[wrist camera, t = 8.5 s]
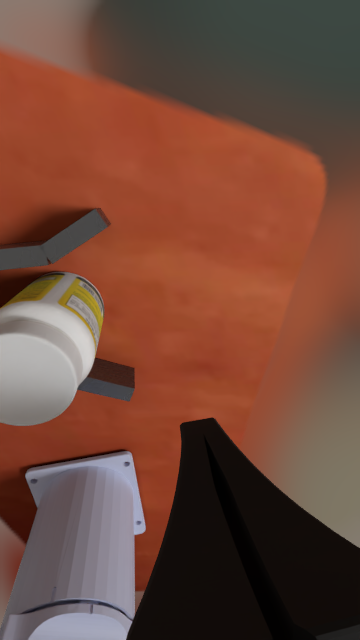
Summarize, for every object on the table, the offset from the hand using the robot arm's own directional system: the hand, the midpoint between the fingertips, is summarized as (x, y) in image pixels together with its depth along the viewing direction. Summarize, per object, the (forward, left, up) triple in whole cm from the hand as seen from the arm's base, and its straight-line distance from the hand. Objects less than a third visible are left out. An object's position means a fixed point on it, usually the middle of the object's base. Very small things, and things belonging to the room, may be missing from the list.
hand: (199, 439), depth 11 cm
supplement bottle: (+3, +6, -10) cm, 12 cm away
